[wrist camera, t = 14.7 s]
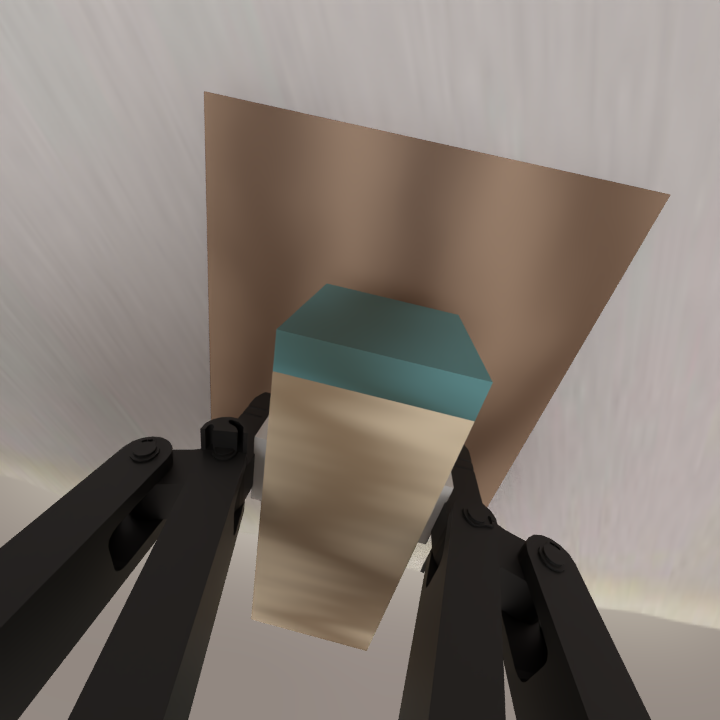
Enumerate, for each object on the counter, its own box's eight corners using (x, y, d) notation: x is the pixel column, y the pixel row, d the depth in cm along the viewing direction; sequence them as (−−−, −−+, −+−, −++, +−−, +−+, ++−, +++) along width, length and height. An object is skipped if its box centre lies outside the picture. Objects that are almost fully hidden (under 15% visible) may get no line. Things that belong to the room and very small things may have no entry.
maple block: (376, 537, 16) (458, 314, 10) (366, 650, 12) (492, 382, 6) (290, 514, 16) (326, 283, 10) (251, 619, 12) (276, 329, 6)
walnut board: (220, 453, 22) (212, 463, 21) (218, 99, 13) (203, 91, 12) (469, 518, 21) (472, 531, 20) (651, 196, 12) (670, 194, 11)
